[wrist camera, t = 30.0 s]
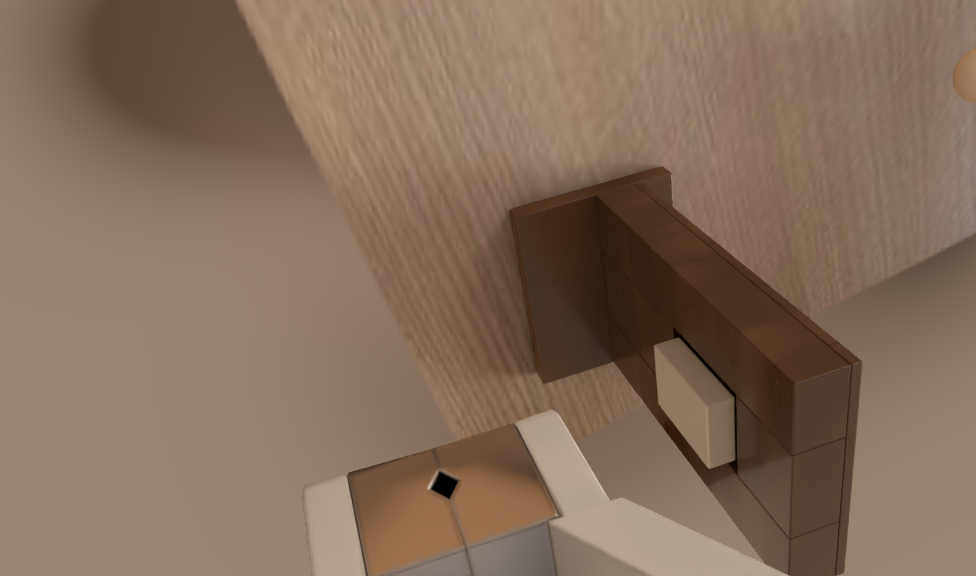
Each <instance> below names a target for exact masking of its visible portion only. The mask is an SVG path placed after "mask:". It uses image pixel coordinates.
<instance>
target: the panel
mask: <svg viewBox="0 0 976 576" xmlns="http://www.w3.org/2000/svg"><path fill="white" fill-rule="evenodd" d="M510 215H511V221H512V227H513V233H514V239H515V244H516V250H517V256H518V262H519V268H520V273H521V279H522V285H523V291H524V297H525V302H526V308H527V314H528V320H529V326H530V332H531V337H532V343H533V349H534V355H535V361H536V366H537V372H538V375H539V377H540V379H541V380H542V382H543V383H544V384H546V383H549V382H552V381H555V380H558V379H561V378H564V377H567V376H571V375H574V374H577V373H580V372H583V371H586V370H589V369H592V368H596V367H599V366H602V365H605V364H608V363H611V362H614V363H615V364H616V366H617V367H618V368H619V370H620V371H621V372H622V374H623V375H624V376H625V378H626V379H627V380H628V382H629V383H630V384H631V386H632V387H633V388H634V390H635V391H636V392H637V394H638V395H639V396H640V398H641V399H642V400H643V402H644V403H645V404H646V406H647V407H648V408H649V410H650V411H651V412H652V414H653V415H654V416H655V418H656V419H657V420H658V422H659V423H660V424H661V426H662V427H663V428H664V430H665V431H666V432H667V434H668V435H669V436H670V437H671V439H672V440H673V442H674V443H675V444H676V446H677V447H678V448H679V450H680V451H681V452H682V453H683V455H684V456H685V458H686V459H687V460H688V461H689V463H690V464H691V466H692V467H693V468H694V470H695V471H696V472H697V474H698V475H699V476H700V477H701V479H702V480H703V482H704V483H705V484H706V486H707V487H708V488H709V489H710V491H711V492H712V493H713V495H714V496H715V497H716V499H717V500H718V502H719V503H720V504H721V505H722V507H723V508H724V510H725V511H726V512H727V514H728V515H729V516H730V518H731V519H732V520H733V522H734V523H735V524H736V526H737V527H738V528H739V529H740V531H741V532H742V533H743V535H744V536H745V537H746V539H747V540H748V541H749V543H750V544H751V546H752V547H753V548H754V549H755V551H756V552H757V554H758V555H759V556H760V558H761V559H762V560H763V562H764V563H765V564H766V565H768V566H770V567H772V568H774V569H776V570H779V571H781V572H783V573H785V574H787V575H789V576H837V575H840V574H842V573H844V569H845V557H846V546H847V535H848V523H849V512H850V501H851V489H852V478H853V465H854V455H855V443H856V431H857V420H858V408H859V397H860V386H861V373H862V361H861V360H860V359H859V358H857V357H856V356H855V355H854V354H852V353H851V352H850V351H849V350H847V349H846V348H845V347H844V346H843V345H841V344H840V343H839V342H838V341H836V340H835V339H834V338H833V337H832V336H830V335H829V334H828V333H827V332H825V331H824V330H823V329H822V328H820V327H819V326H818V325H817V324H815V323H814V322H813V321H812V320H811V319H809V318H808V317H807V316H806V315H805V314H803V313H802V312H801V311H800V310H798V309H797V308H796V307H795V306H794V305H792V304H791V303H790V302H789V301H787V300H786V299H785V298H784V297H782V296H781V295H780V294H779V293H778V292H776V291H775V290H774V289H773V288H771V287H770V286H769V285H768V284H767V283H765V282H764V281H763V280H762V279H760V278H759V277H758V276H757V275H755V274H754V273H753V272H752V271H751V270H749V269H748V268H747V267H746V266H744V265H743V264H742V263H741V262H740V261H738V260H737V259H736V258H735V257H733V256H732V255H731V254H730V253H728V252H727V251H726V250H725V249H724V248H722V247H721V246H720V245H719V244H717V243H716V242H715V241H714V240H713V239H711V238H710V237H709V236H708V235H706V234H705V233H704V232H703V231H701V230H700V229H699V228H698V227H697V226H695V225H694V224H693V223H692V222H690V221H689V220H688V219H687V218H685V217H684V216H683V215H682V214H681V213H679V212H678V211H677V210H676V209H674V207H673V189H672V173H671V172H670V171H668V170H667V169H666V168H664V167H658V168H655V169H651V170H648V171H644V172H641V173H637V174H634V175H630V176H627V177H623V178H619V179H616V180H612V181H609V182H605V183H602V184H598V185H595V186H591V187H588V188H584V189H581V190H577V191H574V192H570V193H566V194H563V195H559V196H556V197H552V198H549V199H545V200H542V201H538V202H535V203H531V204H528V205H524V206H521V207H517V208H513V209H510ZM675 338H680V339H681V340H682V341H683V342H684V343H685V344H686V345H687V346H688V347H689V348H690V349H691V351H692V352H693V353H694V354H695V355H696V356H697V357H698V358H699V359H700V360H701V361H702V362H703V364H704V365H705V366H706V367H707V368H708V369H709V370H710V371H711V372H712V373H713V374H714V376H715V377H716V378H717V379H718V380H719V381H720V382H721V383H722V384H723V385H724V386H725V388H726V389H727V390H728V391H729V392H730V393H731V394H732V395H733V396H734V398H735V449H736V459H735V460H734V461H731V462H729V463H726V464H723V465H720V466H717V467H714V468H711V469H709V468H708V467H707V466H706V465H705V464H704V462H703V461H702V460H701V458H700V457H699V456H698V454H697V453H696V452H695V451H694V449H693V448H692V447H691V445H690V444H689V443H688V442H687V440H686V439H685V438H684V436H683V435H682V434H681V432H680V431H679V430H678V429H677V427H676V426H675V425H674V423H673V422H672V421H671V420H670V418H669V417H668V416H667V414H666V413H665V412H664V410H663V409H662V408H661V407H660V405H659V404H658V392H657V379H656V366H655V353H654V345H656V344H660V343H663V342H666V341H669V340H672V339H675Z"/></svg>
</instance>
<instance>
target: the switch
mask: <svg viewBox="0 0 976 576" xmlns="http://www.w3.org/2000/svg"><path fill="white" fill-rule="evenodd" d="M654 353H655V366H656V379H657V392H658V404H659V405H660V407H661V408H662V409H663V410H664V412H665V413H666V414H667V416H668V417H669V418H670V420H671V421H672V422H673V423H674V425H675V426H676V427H677V429H678V430H679V431H680V432H681V434H682V435H683V436H684V438H685V439H686V440H687V442H688V443H689V444H690V445H691V447H692V448H693V449H694V451H695V452H696V453H697V454H698V456H699V457H700V458H701V460H702V461H703V462H704V464H705V465H706V466H707V467H708V468H709V469H711V468H714V467H717V466H720V465H723V464H726V463H729V462H731V461H734V460H735V459H736V449H735V398H734V396H733V395H732V394H731V393H730V392H729V391H728V390H727V389H726V388H725V386H724V385H723V384H722V383H721V382H720V381H719V380H718V379H717V378H716V377H715V376H714V374H713V373H712V372H711V371H710V370H709V369H708V368H707V367H706V366H705V365H704V364H703V362H702V361H701V360H700V359H699V358H698V357H697V356H696V355H695V354H694V353H693V352H692V351H691V349H690V348H689V347H688V346H687V345H686V344H685V343H684V342H683V341H682V340H681V339H680V338H675V339H672V340H669V341H666V342H663V343H660V344H656V345H654Z"/></svg>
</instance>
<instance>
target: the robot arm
mask: <svg viewBox="0 0 976 576" xmlns="http://www.w3.org/2000/svg"><path fill="white" fill-rule="evenodd" d="M302 501H303V509H304V518H305V526H306V535H307V544H308V552H309V561H310V569H311V576H789V575H787V574H785V573H783V572H781V571H779V570H776V569H774V568H772V567H770V566H768V565H766V564H764V563H761V562H759V561H757V560H755V559H753V558H751V557H749V556H746V555H744V554H742V553H740V552H738V551H736V550H733V549H732V548H729V547H727V546H725V545H723V544H721V543H719V542H716V541H714V540H712V539H710V538H708V537H706V536H704V535H702V534H699V533H697V532H695V531H693V530H691V529H689V528H686V527H685V526H682V525H680V524H678V523H676V522H674V521H672V520H670V519H667V518H665V517H663V516H661V515H659V514H657V513H655V512H652V511H650V510H648V509H646V508H644V507H642V506H639V505H638V504H635V503H633V502H631V501H629V500H627V499H625V498H619V499H616V500H612V501H610V500H609V499H608V497H607V496H606V494H605V492H604V490H603V488H602V487H601V485H600V483H599V482H598V480H597V478H596V477H595V475H594V473H593V472H592V470H591V468H590V466H589V465H588V463H587V461H586V460H585V458H584V457H583V455H582V453H581V451H580V450H579V448H578V446H577V445H576V443H575V441H574V439H573V438H572V436H571V434H570V433H569V431H568V429H567V428H566V426H565V424H564V423H563V421H562V419H561V417H560V416H559V414H558V413H557V412H555V411H554V410H549V411H546V412H543V413H540V414H537V415H534V416H531V417H528V418H525V419H522V420H519V421H516V422H513V424H509V425H506V426H503V427H500V428H496V429H493V430H490V431H487V432H484V433H481V434H478V435H474V436H471V437H468V438H465V439H462V440H459V441H455V442H452V443H449V444H447V445H443V446H440V447H437V448H433V449H430V450H426V451H423V452H420V453H416V454H412V455H409V456H406V457H402V458H399V459H395V460H391V461H388V462H385V463H381V464H378V465H374V466H370V467H367V468H364V469H360V470H356V471H353V472H350V473H348V475H342V476H338V477H335V478H331V479H328V480H325V481H321V482H317V483H314V484H311V485H307V486H304V489H303V494H302Z"/></svg>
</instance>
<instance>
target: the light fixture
mask: <svg viewBox="0 0 976 576" xmlns="http://www.w3.org/2000/svg"><path fill="white" fill-rule="evenodd" d="M953 85H954V88H955V90H956V92H957V93H958V95H959V96H961V97H962V98H963V99H965V100H966V101H969V102H971V103H975V104H976V48H975V49H973V50H971V51H970V52H968V53H967V54H965V55H964V56H963V57H962V58H961V59H960V61H959V62H958V64H957V65H956V67H955V70H954V73H953Z"/></svg>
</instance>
